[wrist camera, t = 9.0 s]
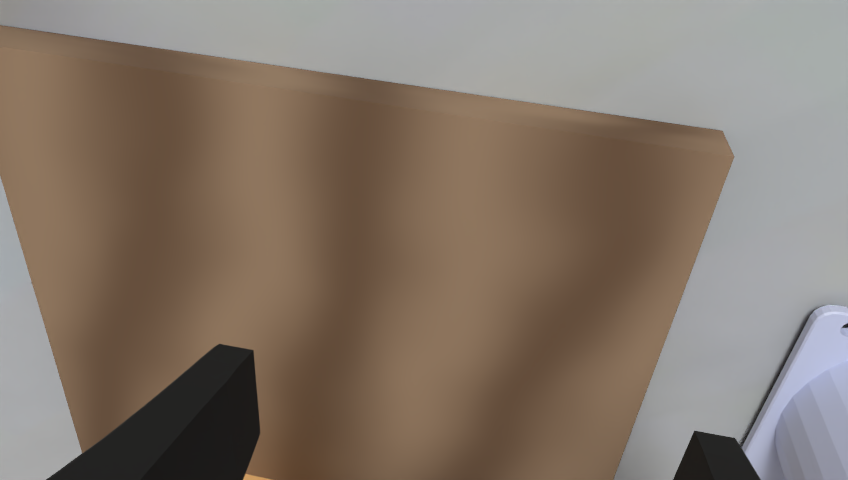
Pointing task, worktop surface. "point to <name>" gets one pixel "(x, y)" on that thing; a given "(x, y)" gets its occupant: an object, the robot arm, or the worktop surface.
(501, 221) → the walnut board
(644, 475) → the worktop surface
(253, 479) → the peach wooden cube
